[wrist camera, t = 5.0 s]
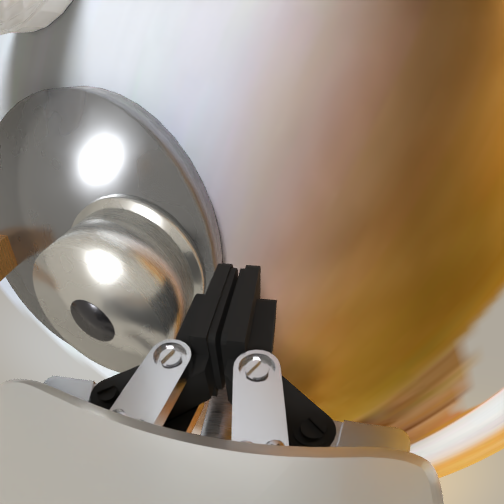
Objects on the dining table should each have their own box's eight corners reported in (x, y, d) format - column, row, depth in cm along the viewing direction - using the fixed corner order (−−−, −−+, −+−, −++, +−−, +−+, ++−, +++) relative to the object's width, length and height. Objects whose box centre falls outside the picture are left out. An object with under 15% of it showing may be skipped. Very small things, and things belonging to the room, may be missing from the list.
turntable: (217, 54, 9) (120, 6, 3) (230, 367, 19) (208, 459, 13) (-17, 126, 11) (-89, 158, 5) (43, 322, 21) (4, 374, 15)
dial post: (272, 362, 19) (240, 573, 6) (250, 373, 21) (213, 566, 7) (208, 318, 18) (129, 557, 5) (189, 333, 19) (112, 544, 6)
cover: (198, 192, 11) (153, 242, 7) (213, 332, 15) (193, 394, 11) (61, 197, 12) (5, 234, 8) (98, 312, 15) (66, 358, 12)
